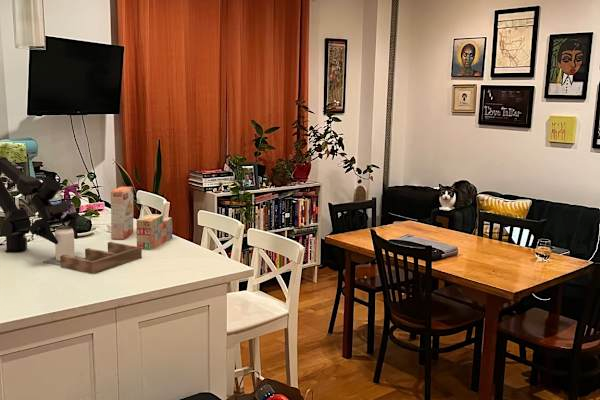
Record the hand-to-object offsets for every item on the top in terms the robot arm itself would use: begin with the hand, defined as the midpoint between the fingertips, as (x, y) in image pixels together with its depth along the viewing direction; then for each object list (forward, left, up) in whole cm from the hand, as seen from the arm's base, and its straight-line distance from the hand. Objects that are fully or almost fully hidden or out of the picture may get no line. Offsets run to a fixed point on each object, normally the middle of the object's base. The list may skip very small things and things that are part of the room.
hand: (67, 240), depth 213 cm
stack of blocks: (+30, +24, -8) cm, 40 cm away
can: (-1, +1, -7) cm, 8 cm away
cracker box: (+16, +38, -8) cm, 42 cm away
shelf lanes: (+12, -2, -8) cm, 15 cm away
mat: (-1, +1, -8) cm, 8 cm away
